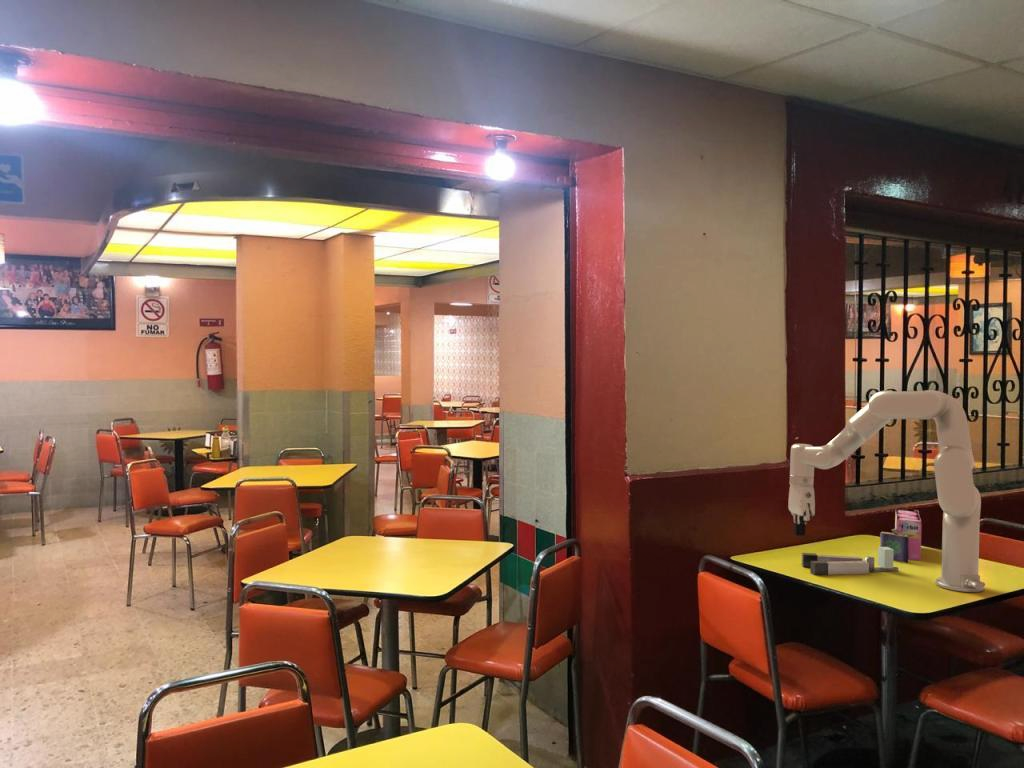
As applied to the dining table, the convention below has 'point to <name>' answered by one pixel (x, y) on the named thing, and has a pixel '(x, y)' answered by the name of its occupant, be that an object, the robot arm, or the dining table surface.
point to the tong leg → (825, 558)
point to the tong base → (846, 567)
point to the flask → (896, 544)
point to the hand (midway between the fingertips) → (799, 534)
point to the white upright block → (885, 557)
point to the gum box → (910, 531)
